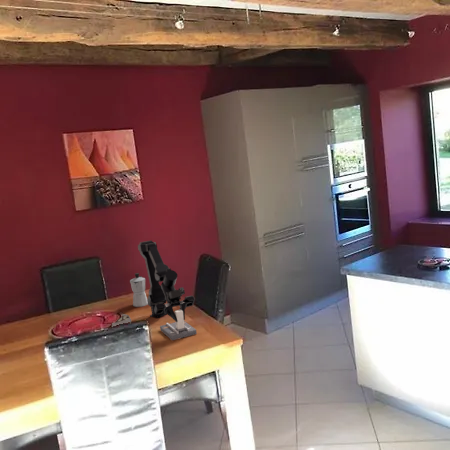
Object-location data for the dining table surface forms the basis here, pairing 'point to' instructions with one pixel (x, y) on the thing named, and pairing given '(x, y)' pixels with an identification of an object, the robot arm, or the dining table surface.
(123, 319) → the food container
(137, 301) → the coffee maker
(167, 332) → the grey slider track base
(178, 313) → the fader
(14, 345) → the dining table surface
